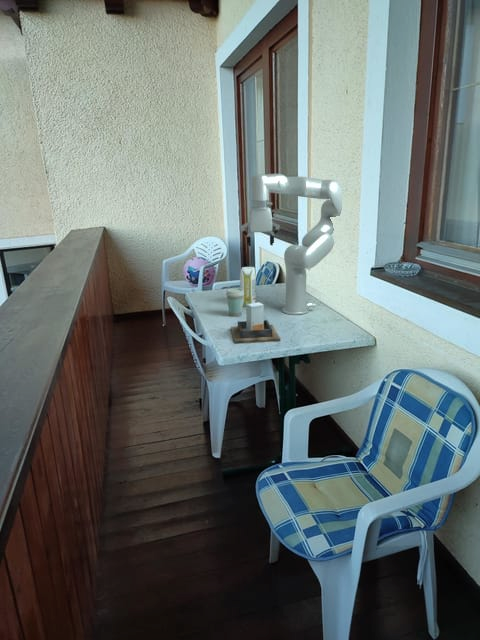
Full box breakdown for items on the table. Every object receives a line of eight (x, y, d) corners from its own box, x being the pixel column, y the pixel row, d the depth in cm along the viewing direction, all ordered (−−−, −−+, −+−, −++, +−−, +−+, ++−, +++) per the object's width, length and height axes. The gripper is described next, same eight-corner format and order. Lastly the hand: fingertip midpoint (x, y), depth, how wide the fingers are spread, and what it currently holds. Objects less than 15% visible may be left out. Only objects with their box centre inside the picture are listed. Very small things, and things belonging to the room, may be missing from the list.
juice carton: (256, 302, 228) (255, 266, 222) (255, 307, 220) (254, 269, 214) (241, 302, 229) (241, 266, 223) (240, 307, 220) (239, 269, 215)
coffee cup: (242, 318, 203) (242, 292, 200) (224, 317, 205) (223, 292, 201) (246, 312, 211) (245, 288, 208) (228, 312, 213) (228, 287, 209)
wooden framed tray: (272, 326, 191) (272, 317, 189) (280, 341, 173) (280, 331, 172) (230, 328, 189) (230, 320, 188) (234, 343, 172) (234, 333, 171)
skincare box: (251, 334, 178) (250, 306, 174) (246, 332, 182) (245, 303, 178) (264, 332, 180) (264, 304, 177) (259, 329, 184) (258, 301, 180)
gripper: (278, 204, 192) (278, 243, 197) (239, 205, 190) (239, 245, 195) (281, 204, 185) (281, 245, 190) (240, 206, 183) (241, 247, 188)
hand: (260, 245), depth 192 cm, fingers open, 9 cm apart
